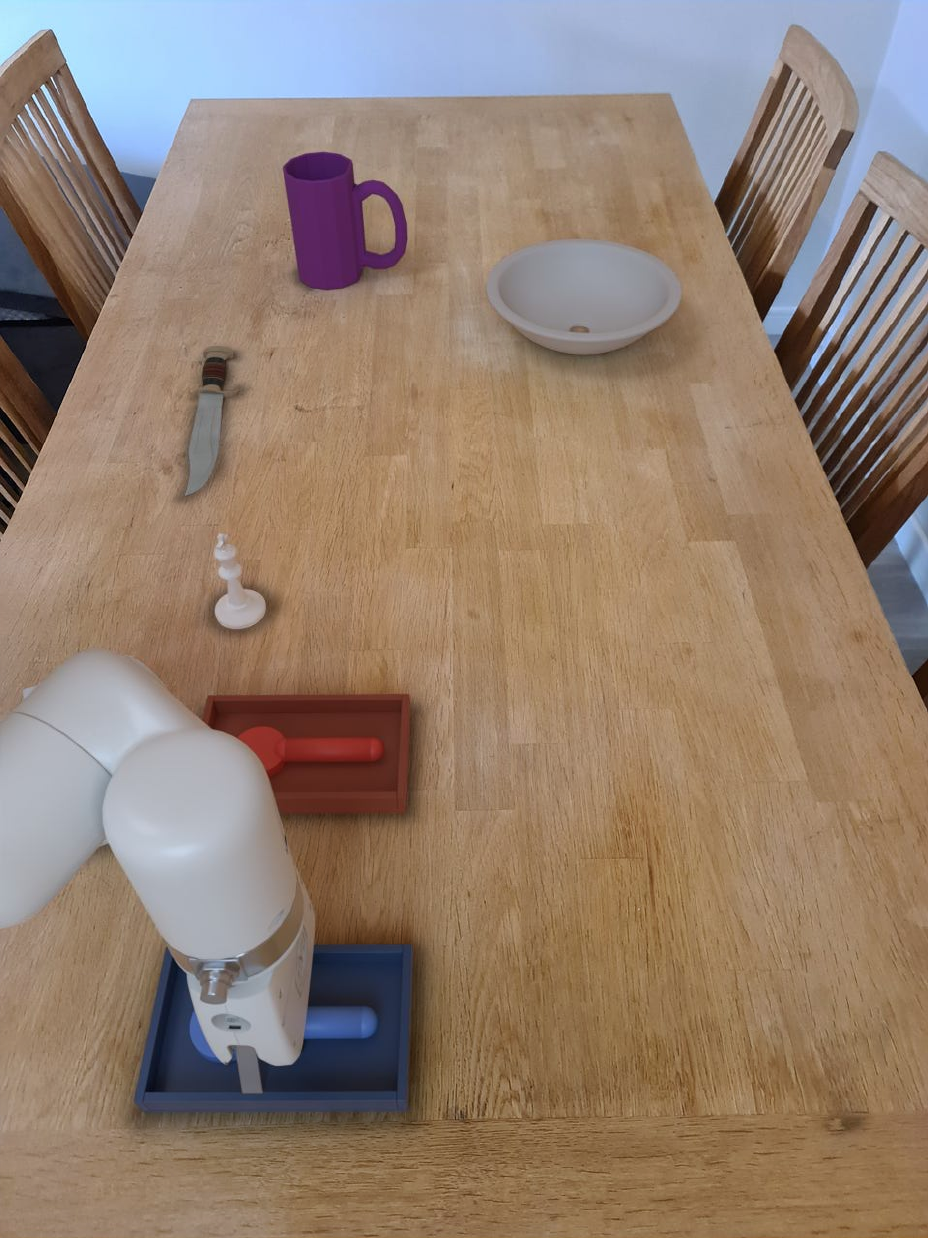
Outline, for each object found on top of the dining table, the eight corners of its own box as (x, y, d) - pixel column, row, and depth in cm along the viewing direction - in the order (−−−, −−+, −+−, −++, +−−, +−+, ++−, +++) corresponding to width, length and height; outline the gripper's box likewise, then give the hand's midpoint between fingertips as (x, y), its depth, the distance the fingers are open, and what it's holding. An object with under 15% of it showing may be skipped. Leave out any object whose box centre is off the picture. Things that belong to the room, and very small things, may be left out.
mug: (303, 258, 138) (288, 150, 127) (412, 259, 137) (406, 151, 126) (293, 292, 132) (276, 181, 121) (407, 293, 131) (400, 182, 120)
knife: (220, 492, 103) (171, 489, 103) (221, 503, 104) (173, 500, 104) (245, 346, 121) (203, 342, 120) (245, 357, 122) (204, 353, 121)
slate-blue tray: (143, 1114, 63) (133, 1102, 61) (175, 960, 70) (166, 945, 68) (408, 1113, 63) (406, 1101, 61) (413, 959, 70) (411, 943, 68)
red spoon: (386, 733, 82) (384, 719, 81) (383, 780, 79) (381, 766, 77) (237, 734, 82) (233, 720, 81) (228, 781, 79) (224, 767, 78)
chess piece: (206, 626, 91) (182, 550, 84) (227, 589, 95) (206, 512, 87) (255, 635, 91) (235, 559, 83) (275, 598, 94) (257, 521, 86)
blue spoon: (381, 993, 67) (379, 982, 66) (377, 1063, 64) (374, 1053, 63) (199, 994, 67) (193, 983, 66) (187, 1063, 64) (180, 1053, 63)
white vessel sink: (462, 369, 119) (461, 321, 114) (513, 273, 134) (514, 227, 130) (656, 401, 114) (664, 352, 109) (687, 298, 129) (695, 251, 125)
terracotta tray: (191, 816, 78) (184, 799, 76) (213, 713, 85) (207, 695, 83) (406, 814, 78) (404, 797, 76) (410, 711, 84) (409, 693, 83)
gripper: (283, 1061, 47) (327, 1158, 61) (316, 779, 57) (347, 916, 71) (127, 1061, 47) (207, 1158, 61) (189, 780, 57) (245, 917, 71)
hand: (282, 1027), depth 66 cm, fingers closed on blue spoon, 2 cm apart
